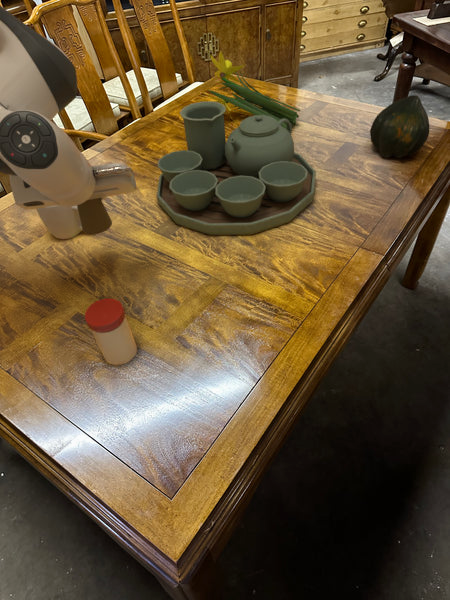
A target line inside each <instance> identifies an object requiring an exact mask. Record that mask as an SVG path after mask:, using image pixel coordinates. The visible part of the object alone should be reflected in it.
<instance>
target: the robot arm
mask: <svg viewBox="0 0 450 600" xmlns="http://www.w3.org/2000/svg"><path fill="white" fill-rule="evenodd" d="M77 95H78V75H77V70H76V67H75V65H74V64H73V62H72V61H71V59H70V58H69V57H68V55H67V54H66V53H65V52H64V51H63V49H61V48H60V47H59V46H57V45H56V44H55V43H54V42H53V41H51V40H49V39H48V38H46V37H45V36H44V35H42V34H40V33H38V32H37V31H36V30H34V29H33V28H31V27H30V26H29V25H27V24H26V23H25V22H23V21H22V20H20V19H19V18H17V16H15V15H14V14H12V13H11V12H10V11H8V10H7V9H5V8H4V7H3V6H2V5H0V173H2V174H4V175H8V176H9V177H8V178H9V183H10V189H11V193H12V197H13V200H14V203H15V206H18V207H19V208H21V209H23V210H36V209H37V208H43V207H49V206H58V205H61V206H67V207H71V206H77V205H80V204H82V203H84V202H85V201H86V200H91V199H99V200H101V201H104V200H107V198H109V197H114V196H121V195H126V194H132V193H134V192H136V191H137V189H138V188H137V182H136V176H135V173H134V171H133V169H132V168H131V167H130V166H129V165H127V164H125V163H123V162H111V163H105V164H99V165H92V164H91V163H90V161H89V160H88V159H87V158H86V157H85V155H84V153H83V152H82V151H81V150H80V149H79V148H78V146H77V145H76V143H75V142H74V141H73V139H72V138H71V137H70V136H69V135H68V134H67V133H66V132H65V131H64V130H63V129H62V128H61V127H60V126H59V125H57V124H56V123H55V122H54V121H53V119H54V118H55V117H56V116H57V114H58V113H61V112H62V111H63V110H65V108H67V106H69V105H70V104H71V103H72V102H73V101H74V100H76V98H77Z"/></svg>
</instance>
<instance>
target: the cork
mask: <svg viewBox="0 0 450 600" xmlns="http://www.w3.org/2000/svg"><path fill="white" fill-rule="evenodd" d="M77 208H78V212H79V217H80V221H81V225H82V231H83V233H85V234H87V235H98V234H102V233H104V232H106V231H107V230H109V229H110V228H111V227H112V225H113V220H112V219H111V217H110V215H109V212H108V211H107V209H106V207H105V205H104V203H103V200H99V199H91V200H86V201H85V202H84V203H82V204H80V205H77Z"/></svg>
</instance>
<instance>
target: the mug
mask: <svg viewBox="0 0 450 600" xmlns="http://www.w3.org/2000/svg"><path fill="white" fill-rule="evenodd" d="M35 210H36V212H37V214H38V217H39V219H41V222H42V223H43V224H44V226H45V227H46V229H47V230H48V232H49V233H50V234H51V235H52V236H53V237H55V238H56V239H58V240H69V239H73V238H74V237H76V236H78V235H80V233H82V231H83V230H82V225H81V221H80V217H79V212H78V208H77V206H71V207H67V206H61V205H58V206H49V207H43V208H37V209H35Z"/></svg>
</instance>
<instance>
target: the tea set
mask: <svg viewBox="0 0 450 600" xmlns="http://www.w3.org/2000/svg"><path fill="white" fill-rule="evenodd" d="M212 101H213V100H211V101H198V102H194V103H190V104H188V105H186V106H184V107H182V108H181V110H180V111H179V114H180V116H181V118H182V122H183V127H184V134H185V141H186V148H187V150H186V149H184V150H183V149H182V150H176V151H172V152H169V153H167V154H164V155H163V156H161V157H160V158H159V159H158V161H157V167H158V168H159V170H160V172H161V174H160V175H159V176H158V183H157V190H156V191H157V192H156V200H157V203H158V204H159V206H160V207H161V208H162V209H163V210H164V212H165V213H166V214H167V215H168V216H169V217H170V218H171V220H172V221H173V222H174V223H175V224H176V225H178V226H182V227H184V228H188V229H190V230H194V231H197V232H199V233H202V234H206V235H209V236H232V235H233V236H234V235H235V236H243V235H244V236H245V235H246V236H247V235H250V236H251V235H254V234H257V233H260V232H264V231H266V230H269V229H274V228H276V227H279V226H282V225H286V224H288V223H290V222H292V220H294V219H295V218H296V217H297V216H298V215H299V214H300V213H301V212H302V211H304V210H305V209H306V208H307V207H308V206H309V205H310V204H311V203H312V202H313V200H314V195H315V186H316V175H317V170H315V168H313V167H312V165H311V164H310V163H309V162H308V161H307V160H306V158H305V157H303V155H301V154H300V153H297V152H295V142H294V139H293V136H292V132H293V126H291V123H290V121H289V120H287V119H285V118H283V119H281V120H279V121H277V120H276V119H274V118H273V117H271V116H266V115H251V116H248V117H246V118H244V119H243V120H241V122H240V123H239V126H238V127H236V128H235V129H233V130H232V131H231V133H230V134H229V135H228V137H226V129H225V116H224V115H225V114H224V112H225V111H226V112H227V110H226V108H225V106H224V105H222V104H221V103H218V102H212ZM283 123H286V125H287V130H286V129H285V128H284V127H282V124H283ZM226 139H227V140H226Z"/></svg>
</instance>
